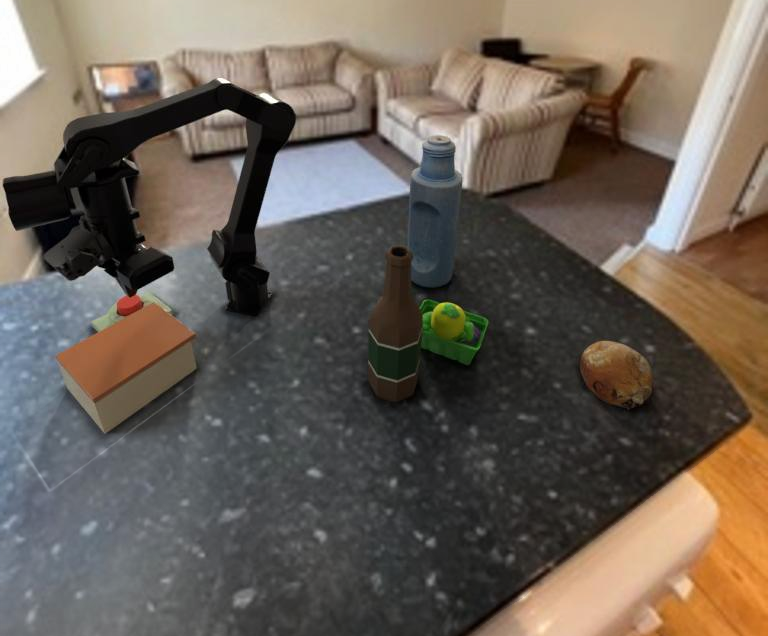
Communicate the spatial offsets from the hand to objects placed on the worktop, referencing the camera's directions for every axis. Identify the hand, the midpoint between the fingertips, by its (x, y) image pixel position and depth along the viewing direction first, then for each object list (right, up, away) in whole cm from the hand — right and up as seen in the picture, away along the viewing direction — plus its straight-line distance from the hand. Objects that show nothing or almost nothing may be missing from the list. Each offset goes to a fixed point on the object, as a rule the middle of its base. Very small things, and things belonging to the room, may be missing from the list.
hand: (131, 295), depth 70 cm
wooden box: (+1, -12, -2) cm, 12 cm away
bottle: (+49, -2, +23) cm, 54 cm away
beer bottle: (+41, -13, -1) cm, 43 cm away
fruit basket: (+50, -10, +5) cm, 51 cm away
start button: (-5, -5, +8) cm, 10 cm away
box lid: (+2, -7, -4) cm, 8 cm away
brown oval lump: (+75, -14, 0) cm, 76 cm away
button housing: (-5, -7, +9) cm, 12 cm away
